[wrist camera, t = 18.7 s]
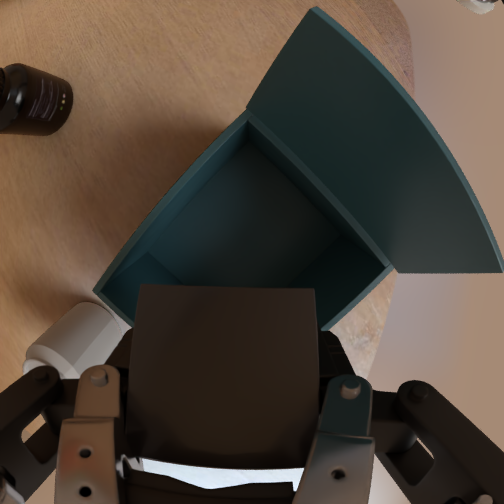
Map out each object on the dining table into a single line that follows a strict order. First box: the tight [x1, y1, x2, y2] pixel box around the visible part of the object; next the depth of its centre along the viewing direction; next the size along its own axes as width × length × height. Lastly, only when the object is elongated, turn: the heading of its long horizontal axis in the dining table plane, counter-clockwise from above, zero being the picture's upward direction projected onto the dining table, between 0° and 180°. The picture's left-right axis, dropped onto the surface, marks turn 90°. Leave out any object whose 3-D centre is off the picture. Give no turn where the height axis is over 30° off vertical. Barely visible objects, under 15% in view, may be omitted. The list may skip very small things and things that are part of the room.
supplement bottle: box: [0, 63, 73, 136], centre depth 17 cm, size 7×7×12 cm
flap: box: [246, 6, 504, 273], centre depth 11 cm, size 7×13×1 cm
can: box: [23, 302, 122, 379], centre depth 24 cm, size 8×8×12 cm
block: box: [125, 284, 320, 470], centre depth 11 cm, size 5×5×9 cm
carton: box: [92, 109, 394, 331], centre depth 22 cm, size 15×13×10 cm
